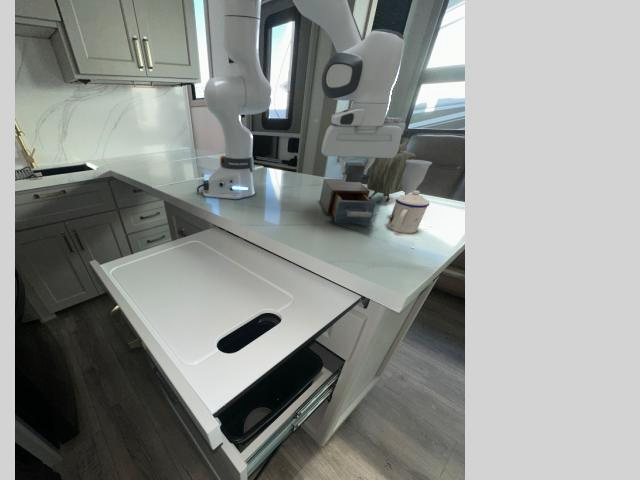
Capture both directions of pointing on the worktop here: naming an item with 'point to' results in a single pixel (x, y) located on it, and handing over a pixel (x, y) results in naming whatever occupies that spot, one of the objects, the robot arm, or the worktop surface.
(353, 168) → the block
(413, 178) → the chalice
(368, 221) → the drawer
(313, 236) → the worktop surface
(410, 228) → the teacup with lid
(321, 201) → the cabinet
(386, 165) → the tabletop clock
